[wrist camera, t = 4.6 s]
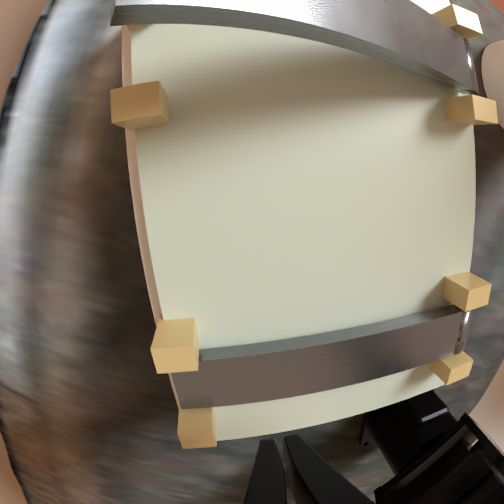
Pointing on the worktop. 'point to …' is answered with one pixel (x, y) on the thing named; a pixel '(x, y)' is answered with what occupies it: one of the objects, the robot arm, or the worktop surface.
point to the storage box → (295, 203)
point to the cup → (494, 76)
